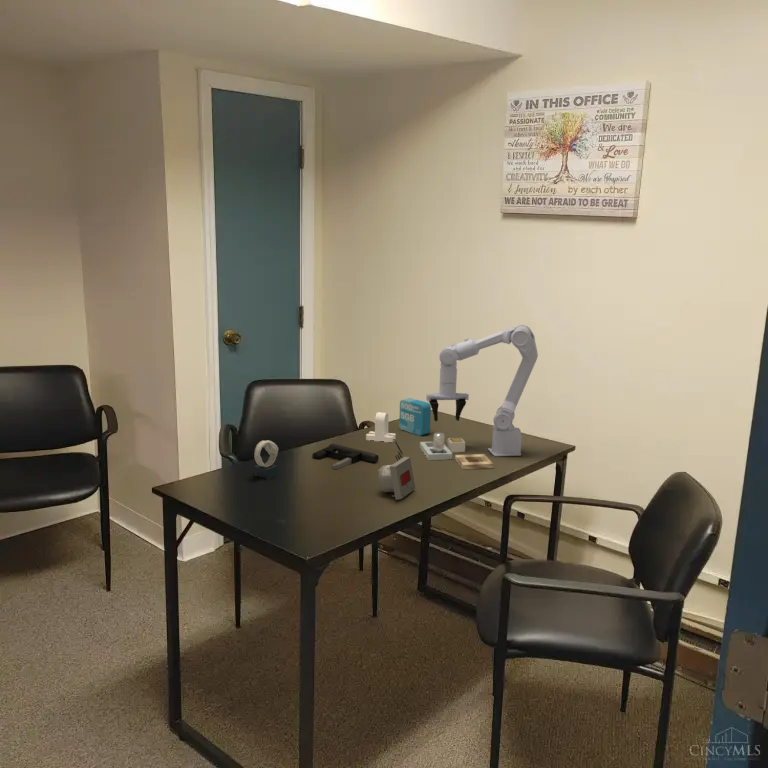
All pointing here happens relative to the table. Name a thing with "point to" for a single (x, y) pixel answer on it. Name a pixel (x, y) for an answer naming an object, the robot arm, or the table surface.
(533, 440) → the table surface
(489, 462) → the wooden square frame
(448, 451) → the frame
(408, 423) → the data package
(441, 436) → the grey rounded cylinder
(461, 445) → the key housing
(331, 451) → the submachine gun
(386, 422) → the cable organizer
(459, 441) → the key
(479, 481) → the table surface
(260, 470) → the grey ring on stand
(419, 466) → the table surface
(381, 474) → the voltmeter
